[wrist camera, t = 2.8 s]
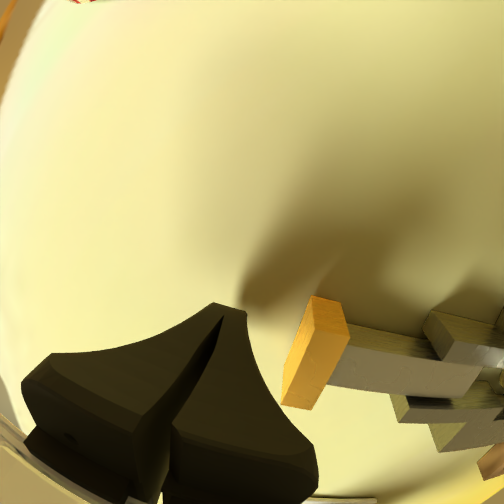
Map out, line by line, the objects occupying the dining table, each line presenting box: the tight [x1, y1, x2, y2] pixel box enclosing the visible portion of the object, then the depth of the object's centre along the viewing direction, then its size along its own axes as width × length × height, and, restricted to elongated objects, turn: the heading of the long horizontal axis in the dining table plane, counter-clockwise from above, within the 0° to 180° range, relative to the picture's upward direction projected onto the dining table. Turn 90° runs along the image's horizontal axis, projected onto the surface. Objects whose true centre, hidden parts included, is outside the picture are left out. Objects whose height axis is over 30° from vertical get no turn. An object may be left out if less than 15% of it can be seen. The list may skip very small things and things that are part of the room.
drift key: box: [281, 295, 483, 410], centre depth 10 cm, size 4×9×2 cm, turn 77°
